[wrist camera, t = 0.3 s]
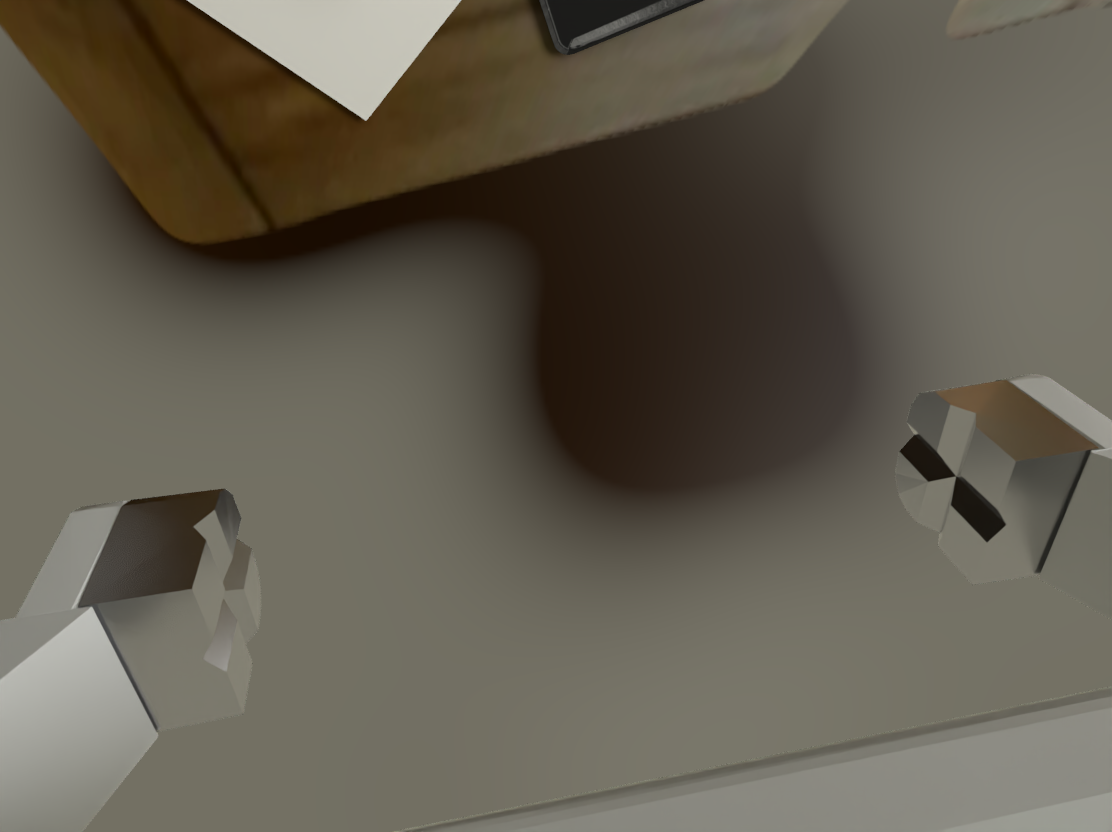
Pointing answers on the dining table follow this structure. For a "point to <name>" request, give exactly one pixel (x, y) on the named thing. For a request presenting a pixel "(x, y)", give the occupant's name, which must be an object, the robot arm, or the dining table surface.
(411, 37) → the white mat
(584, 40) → the phone
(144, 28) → the dining table surface
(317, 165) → the dining table surface
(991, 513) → the robot arm
